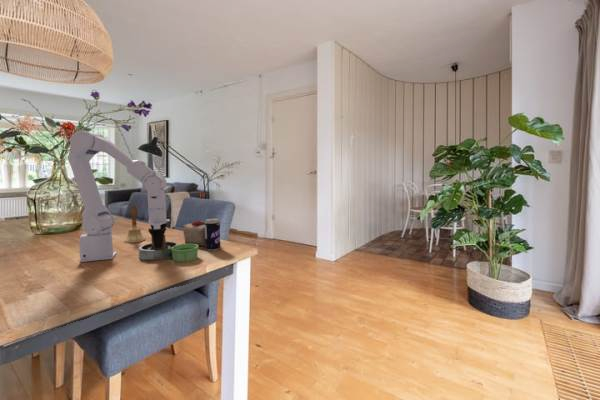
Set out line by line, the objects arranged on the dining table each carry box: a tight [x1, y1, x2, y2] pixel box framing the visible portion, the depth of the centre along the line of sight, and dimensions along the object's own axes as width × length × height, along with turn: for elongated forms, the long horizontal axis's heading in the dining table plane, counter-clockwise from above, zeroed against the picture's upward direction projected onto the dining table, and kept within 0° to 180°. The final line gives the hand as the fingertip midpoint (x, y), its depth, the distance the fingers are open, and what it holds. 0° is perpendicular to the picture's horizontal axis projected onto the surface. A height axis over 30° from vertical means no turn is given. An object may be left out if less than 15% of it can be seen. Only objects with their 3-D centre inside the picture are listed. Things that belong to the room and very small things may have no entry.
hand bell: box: [124, 204, 147, 244], centre depth 129 cm, size 8×8×16 cm
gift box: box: [182, 220, 205, 248], centre depth 123 cm, size 14×8×10 cm, turn 61°
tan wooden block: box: [150, 234, 166, 250], centre depth 107 cm, size 4×2×6 cm, turn 114°
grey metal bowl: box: [138, 240, 179, 262], centre depth 107 cm, size 13×13×4 cm
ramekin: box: [171, 243, 199, 263], centre depth 103 cm, size 9×9×4 cm
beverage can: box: [204, 217, 221, 252], centre depth 114 cm, size 6×6×12 cm
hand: (159, 245), depth 107 cm, fingers open, 7 cm apart
